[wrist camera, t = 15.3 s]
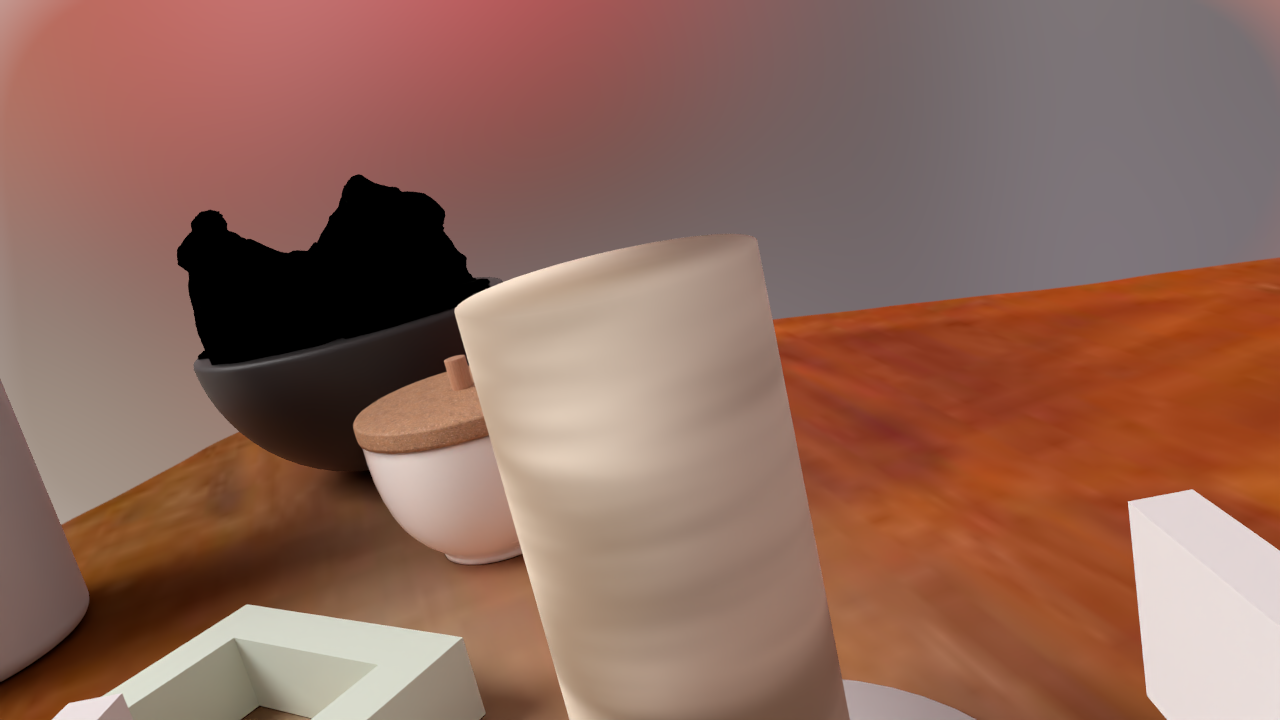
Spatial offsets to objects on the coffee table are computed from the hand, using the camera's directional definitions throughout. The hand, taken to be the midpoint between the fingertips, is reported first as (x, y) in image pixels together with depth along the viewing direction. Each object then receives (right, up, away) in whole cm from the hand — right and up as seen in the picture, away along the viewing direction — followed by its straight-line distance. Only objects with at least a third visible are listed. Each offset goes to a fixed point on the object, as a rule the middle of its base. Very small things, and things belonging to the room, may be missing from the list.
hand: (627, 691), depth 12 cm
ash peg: (+3, -8, +10) cm, 13 cm away
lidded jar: (-7, -5, +34) cm, 35 cm away
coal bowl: (-16, -3, +51) cm, 53 cm away
